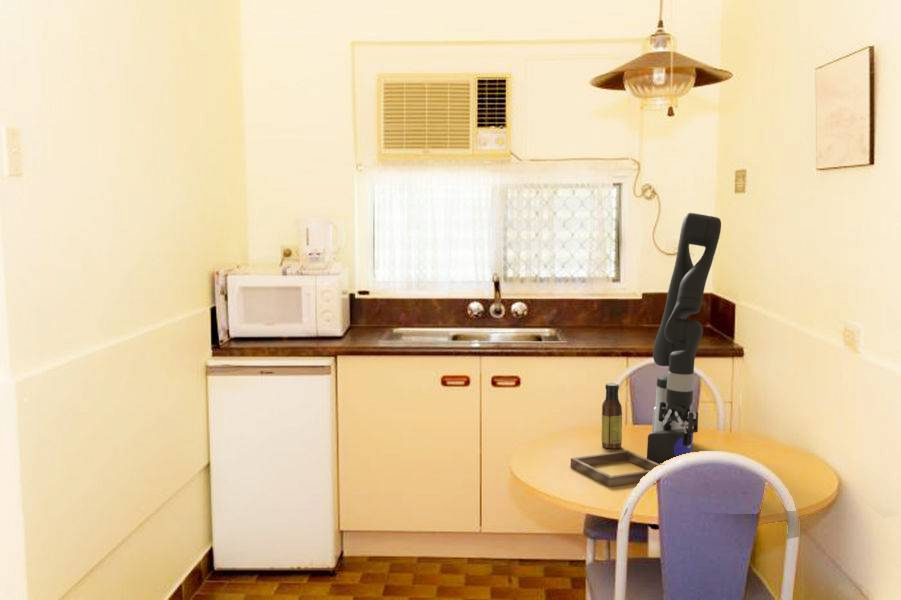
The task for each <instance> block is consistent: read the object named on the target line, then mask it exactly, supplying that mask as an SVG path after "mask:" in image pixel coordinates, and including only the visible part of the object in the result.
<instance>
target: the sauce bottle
mask: <svg viewBox="0 0 901 600" xmlns="http://www.w3.org/2000/svg"><path fill="white" fill-rule="evenodd" d="M604 387H605V399H604V400H603V402H602V404H601V405H602V406H601V446H602V447H603V448H605V449H609V450H610V449H612V450H616V449H620V448H621V447H622V441H623V411H622V409H623V407H622V404H621V401H620V400H619V390H620V386H619V383H615V382H609V383H605V386H604Z"/></svg>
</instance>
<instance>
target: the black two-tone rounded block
mask: <svg viewBox="0 0 901 600" xmlns="http://www.w3.org/2000/svg"><path fill="white" fill-rule="evenodd" d="M687 429H688V427H687ZM683 435H684V431H683V429H674V430H665V431H656V432H652V431H651V432H650V433H649V434H648V435H647V446H646V448H647V449H646V459H649V460H651V461H653V462H656V463H658V464H660V463H663V462H664V461H666V460H669V459H671V458H673V457H676V456H679V455H682V454H686V453H690V452H692V453H693V443H694V442H693V441H694V433H692V438H691V444H690V446H684V445H683ZM660 465H661V464H660Z"/></svg>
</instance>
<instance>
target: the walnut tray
mask: <svg viewBox="0 0 901 600" xmlns="http://www.w3.org/2000/svg"><path fill="white" fill-rule="evenodd" d="M624 461H628V462H629V463H631V464H634V465H637V466H638V467H641V468H643V469H645V470H641V471H635V472H629V473H623V474H617V475H616V474H615V475H610V474H608V473H606V472H604V471H602V470H601V469H598V468H595V467H594V466H597V465H601V464H611V463H616V462H624ZM658 465H661V464H658V463H656V462H653V461H651V460H649V459H647V457H644V456H642V455H639V454H637V453H634V452H633V451H630V450H622V451H613V452H607V453H598V454H592V455H584V456H577V457H571V458H570V468H571V469H574V470H575V471H578V472H580V473H582V474H583V475H586V476H588V477H590V478H591V479H593V480H595V481H597V482H599V483H600V484H604V485H605V486H607V487H608V488H611V487H612V488H613V487H617V486H626V485H630V484H631V485H632V484H637V483H640V482H639V481H640V479H641V478H642V477H643V476H645V475H646V474H647V473H648V472H649V471H651V470H652V469H653V468H654V467H656V466H658Z"/></svg>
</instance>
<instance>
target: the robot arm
mask: <svg viewBox="0 0 901 600" xmlns="http://www.w3.org/2000/svg"><path fill="white" fill-rule="evenodd" d="M721 229H722V221H721V218H719V217H716V216H714V215H713V216H712V215H706V214H701V213H693V212H689V213H686V214H685V216H684V218H683V220H682V223H681V227H680V233H679V240H678V247H677V252H676V257H675V258H676V259H675V262H674V268H673V271H672V275H671V279H670V283H669V286H668V290H667V295H666V300H665V307H664V311H663V315H662V318H661V321H660V322H661V323H660V325H659V328H658V331H657V333H656V337H655V340H654V344H653V349H652V358H653V361H654V364H656V365H657V366H659V367H668V372H666V373H664V374H661V375H659V376H658V377H656V378H657V379H656V390H655V391H656V392H655V407H653V409H652V426H651V427H652V428H651V429H652V430H651V432H656V431H665V430H674V429H683V431H684V435H683V445H684V446H690V444H691V438H692V433H693V434H695V433H698V431H699V430H698V429H699V413H698V411H691V406H692V405H693V400H694V383H695V377H694V371H695V360H696V355H697V352H698V349H699V348H698V347H699V345H700V342H701V341H702V338H703V333H704V328H703V326H702V324H701V322H699V321H698V320H693V319H687V318H688V317H689V316H690V315H695V314H699V312H701V307H702V303H703V298H704V293H705V288H706V287H705V286H706V283H707V279H708V276H709V272H710V270H711V266H712V265H713V261H714V258H715V254H716V251H717V247H718V244H719V239H720V236H721ZM690 245H693V246H698V247H704V248H705V249H704V251H703V253H702V255H701V257H700V258H699V260H698V261H697V262H696V263H695V264H693V261H692V257H691V253H690ZM687 428H688V429H687Z"/></svg>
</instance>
